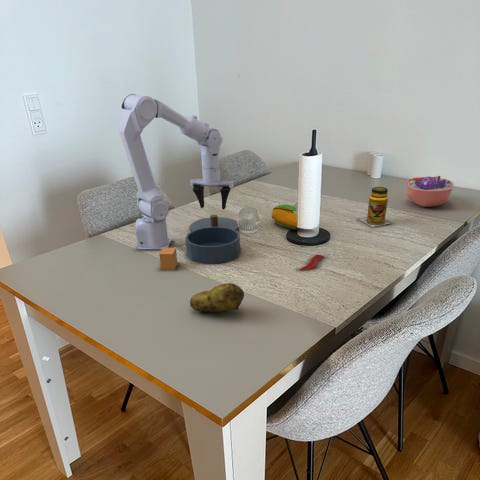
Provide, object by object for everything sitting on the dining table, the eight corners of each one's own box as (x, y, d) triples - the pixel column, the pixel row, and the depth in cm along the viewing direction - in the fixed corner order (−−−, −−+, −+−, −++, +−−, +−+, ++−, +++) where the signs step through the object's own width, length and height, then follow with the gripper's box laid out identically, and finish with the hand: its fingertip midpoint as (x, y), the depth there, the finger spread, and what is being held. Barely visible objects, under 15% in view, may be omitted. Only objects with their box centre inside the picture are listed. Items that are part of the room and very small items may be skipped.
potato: (206, 298, 120) (204, 270, 115) (249, 311, 114) (248, 282, 109) (186, 313, 114) (183, 283, 110) (230, 327, 108) (229, 297, 104)
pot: (183, 263, 138) (181, 246, 135) (191, 242, 152) (190, 226, 149) (238, 264, 137) (237, 246, 134) (241, 242, 151) (241, 226, 148)
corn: (280, 197, 165) (325, 210, 152) (281, 218, 169) (325, 232, 156) (266, 204, 161) (311, 217, 148) (267, 224, 165) (310, 239, 153)
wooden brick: (161, 269, 135) (159, 253, 132) (164, 263, 139) (162, 247, 136) (174, 269, 135) (173, 253, 132) (177, 263, 139) (175, 247, 136)
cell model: (454, 200, 182) (461, 171, 176) (443, 215, 168) (449, 184, 162) (410, 194, 190) (415, 166, 184) (396, 208, 175) (400, 178, 170)
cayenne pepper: (304, 272, 131) (304, 266, 130) (292, 267, 134) (293, 261, 133) (332, 260, 138) (333, 254, 137) (320, 255, 141) (321, 249, 140)
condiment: (373, 227, 159) (377, 192, 153) (358, 219, 166) (362, 186, 160) (390, 224, 162) (395, 189, 156) (375, 216, 168) (379, 183, 162)
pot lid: (191, 239, 154) (190, 226, 152) (188, 221, 169) (187, 209, 167) (242, 235, 156) (242, 222, 154) (235, 218, 171) (235, 206, 168)
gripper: (235, 164, 153) (236, 205, 160) (193, 163, 156) (196, 203, 163) (229, 170, 147) (231, 211, 154) (186, 168, 150) (190, 209, 158)
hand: (213, 207), depth 159 cm, fingers open, 7 cm apart
